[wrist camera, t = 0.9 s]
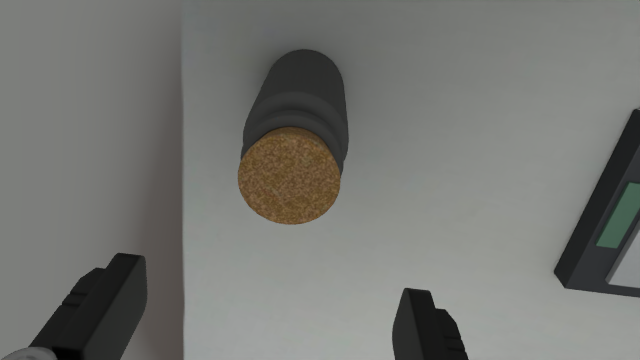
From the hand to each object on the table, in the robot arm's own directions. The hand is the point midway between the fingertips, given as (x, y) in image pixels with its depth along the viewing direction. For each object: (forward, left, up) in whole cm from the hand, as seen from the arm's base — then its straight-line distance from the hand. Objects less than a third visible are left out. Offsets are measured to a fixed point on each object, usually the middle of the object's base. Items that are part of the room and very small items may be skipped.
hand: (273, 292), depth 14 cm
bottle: (0, 0, -22) cm, 22 cm away
